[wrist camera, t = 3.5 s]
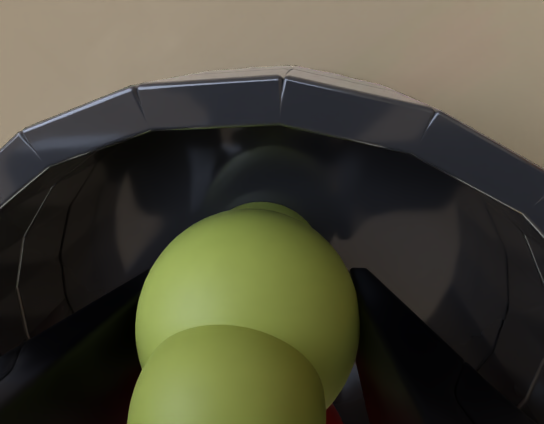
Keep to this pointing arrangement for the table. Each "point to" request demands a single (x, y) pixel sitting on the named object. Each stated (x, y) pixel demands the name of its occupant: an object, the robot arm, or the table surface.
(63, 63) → the table surface
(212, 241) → the pear
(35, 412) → the robot arm
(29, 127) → the pan
